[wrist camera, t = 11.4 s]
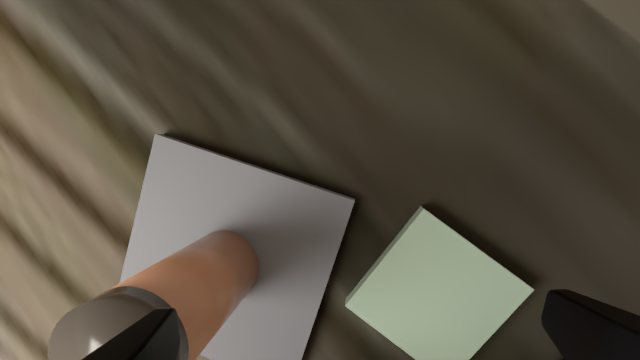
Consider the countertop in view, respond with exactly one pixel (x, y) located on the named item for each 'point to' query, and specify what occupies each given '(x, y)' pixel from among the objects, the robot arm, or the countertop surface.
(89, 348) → the terracotta jar
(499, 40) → the countertop surface
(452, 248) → the sage tile
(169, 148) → the gray board
